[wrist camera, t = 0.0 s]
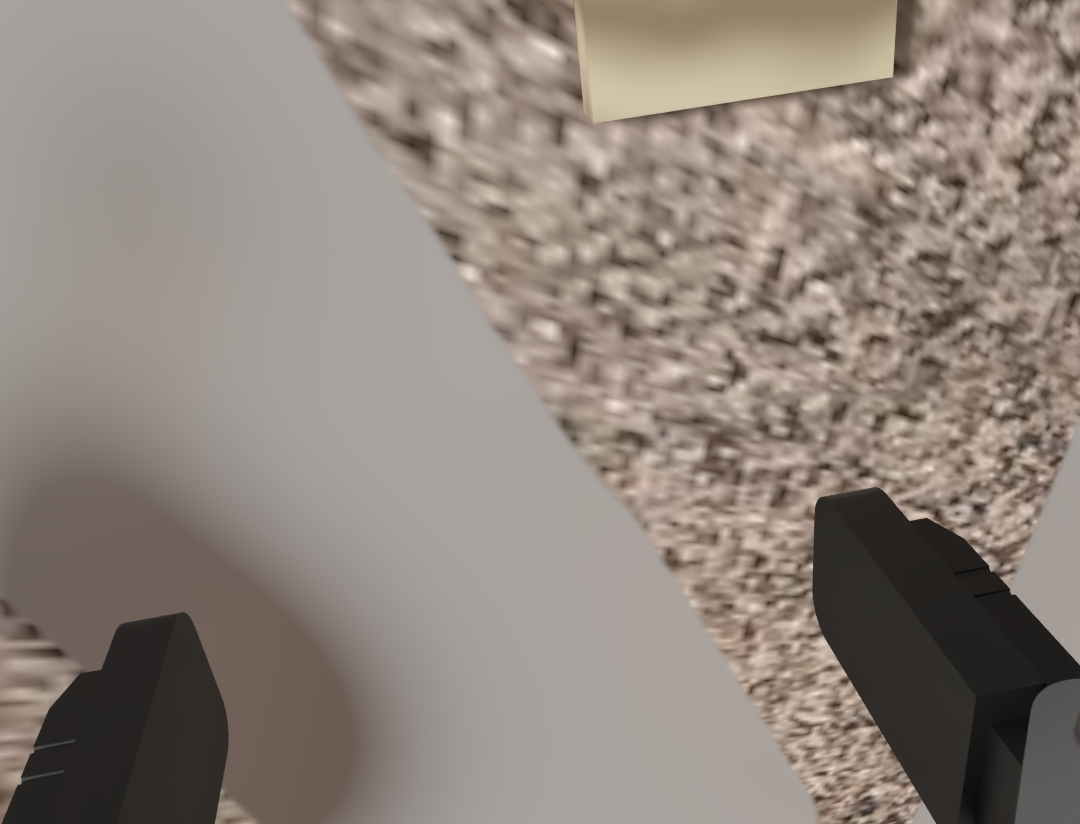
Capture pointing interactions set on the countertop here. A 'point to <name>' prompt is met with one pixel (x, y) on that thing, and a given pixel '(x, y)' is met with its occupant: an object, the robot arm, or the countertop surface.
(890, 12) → the block
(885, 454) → the countertop surface
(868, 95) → the countertop surface
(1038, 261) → the countertop surface
